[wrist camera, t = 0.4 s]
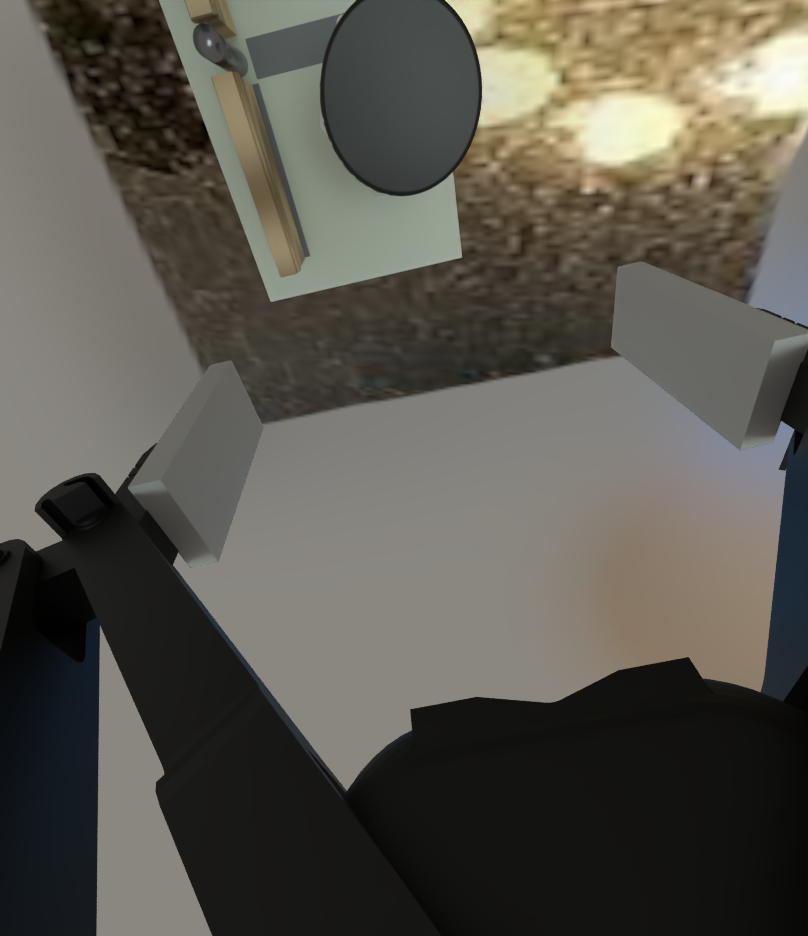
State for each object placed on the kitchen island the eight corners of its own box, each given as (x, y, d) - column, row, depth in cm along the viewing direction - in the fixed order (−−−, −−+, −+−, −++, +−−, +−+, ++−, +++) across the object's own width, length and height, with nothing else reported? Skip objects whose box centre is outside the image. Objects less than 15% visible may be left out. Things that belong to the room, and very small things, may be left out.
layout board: (49, -300, 21) (44, -307, 21) (389, -406, 20) (389, -415, 20) (271, 301, 38) (270, 302, 38) (461, 256, 37) (462, 257, 37)
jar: (301, 101, 30) (276, 82, 21) (387, -9, 28) (403, -90, 18) (388, 211, 35) (400, 237, 25) (470, 126, 32) (518, 119, 22)
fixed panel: (232, 89, 30) (208, 77, 25) (253, 83, 29) (233, 70, 25) (289, 261, 36) (278, 277, 31) (306, 257, 36) (298, 273, 31)
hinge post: (223, 53, 29) (187, 26, 23) (243, 47, 29) (213, 19, 23) (232, 80, 30) (200, 62, 24) (252, 75, 30) (224, 55, 24)
